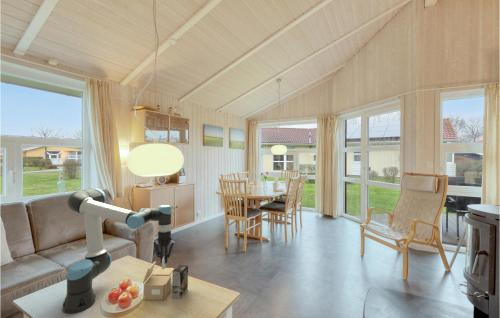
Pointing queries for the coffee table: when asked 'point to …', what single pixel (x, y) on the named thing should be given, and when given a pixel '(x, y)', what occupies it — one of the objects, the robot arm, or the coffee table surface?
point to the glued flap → (149, 272)
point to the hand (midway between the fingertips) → (163, 268)
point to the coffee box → (180, 281)
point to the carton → (158, 284)
